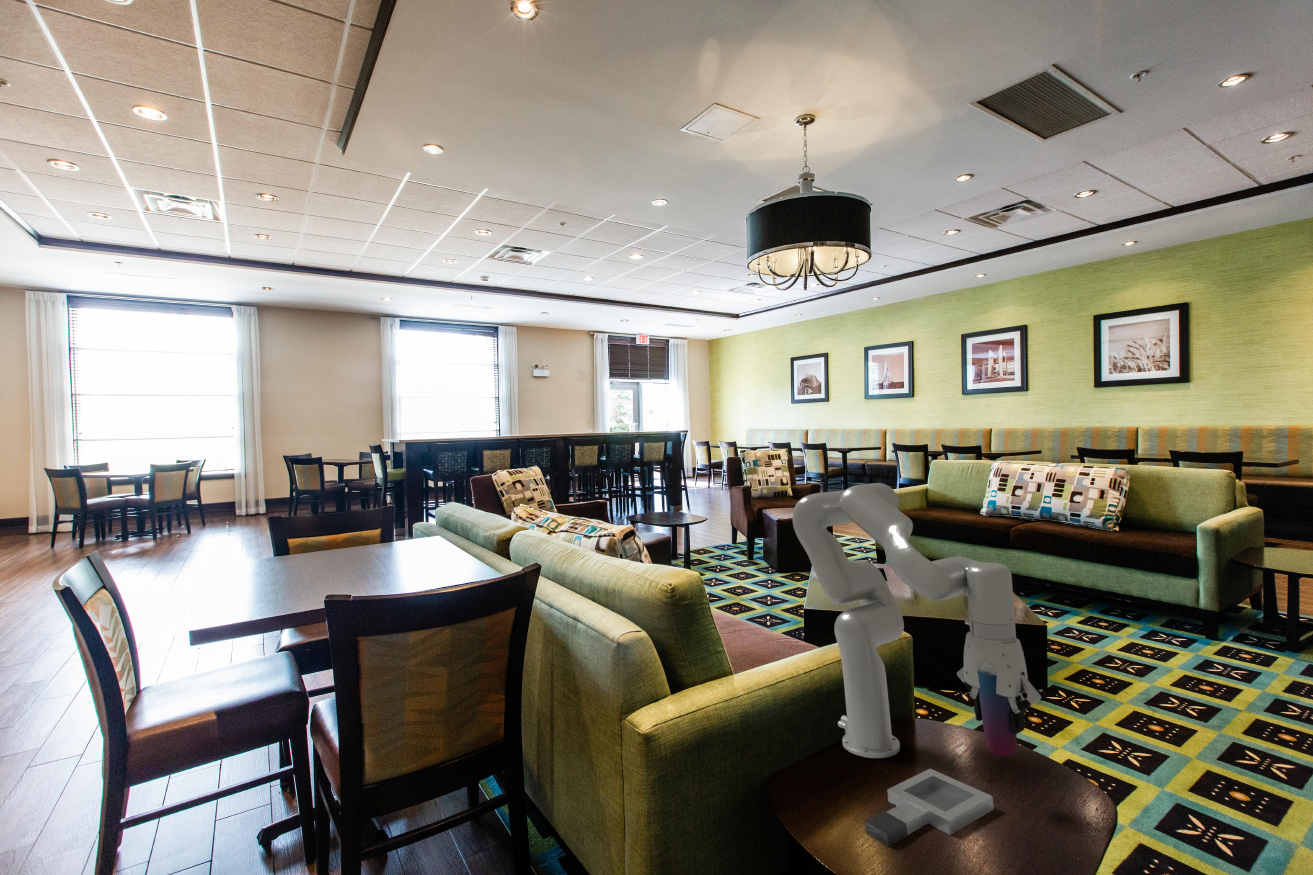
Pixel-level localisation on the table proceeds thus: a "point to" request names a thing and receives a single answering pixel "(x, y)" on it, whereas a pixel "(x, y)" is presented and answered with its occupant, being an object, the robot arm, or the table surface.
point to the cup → (996, 717)
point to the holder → (928, 807)
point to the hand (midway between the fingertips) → (999, 724)
